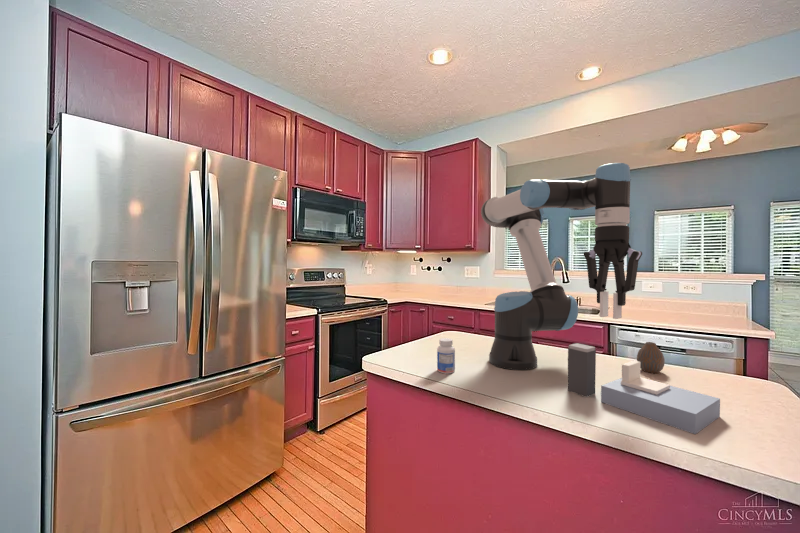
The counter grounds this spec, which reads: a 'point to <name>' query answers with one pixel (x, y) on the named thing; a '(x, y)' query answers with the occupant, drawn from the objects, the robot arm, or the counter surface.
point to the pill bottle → (446, 356)
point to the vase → (651, 358)
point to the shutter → (640, 379)
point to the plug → (581, 369)
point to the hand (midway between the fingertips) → (610, 317)
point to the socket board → (665, 405)
